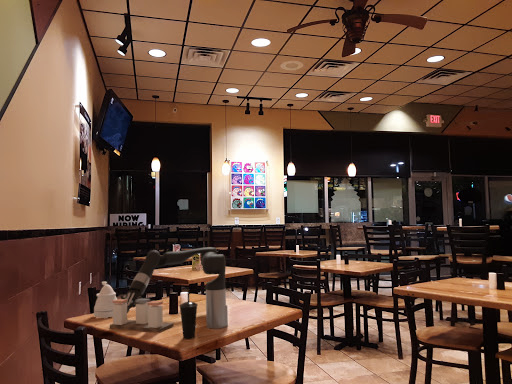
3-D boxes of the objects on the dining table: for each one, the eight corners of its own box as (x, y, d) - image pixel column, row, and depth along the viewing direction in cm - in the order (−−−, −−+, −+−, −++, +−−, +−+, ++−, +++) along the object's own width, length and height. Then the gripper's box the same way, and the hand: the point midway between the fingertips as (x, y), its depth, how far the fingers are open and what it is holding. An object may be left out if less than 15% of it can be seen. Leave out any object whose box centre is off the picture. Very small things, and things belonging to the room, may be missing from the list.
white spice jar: (127, 322, 196) (127, 299, 196) (121, 325, 192) (121, 301, 192) (118, 322, 197) (118, 298, 198) (112, 324, 194) (112, 300, 194)
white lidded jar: (150, 322, 196) (149, 298, 196) (144, 324, 192) (144, 300, 193) (141, 321, 198) (140, 298, 198) (135, 323, 194) (135, 299, 194)
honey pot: (88, 317, 218) (88, 283, 220) (107, 312, 230) (107, 279, 231) (105, 319, 212) (105, 284, 214) (124, 314, 224) (124, 280, 225)
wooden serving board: (173, 326, 194) (173, 323, 194) (159, 332, 183) (159, 329, 183) (125, 322, 204) (125, 319, 204) (109, 328, 194) (109, 324, 194)
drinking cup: (199, 334, 178) (198, 287, 179) (197, 339, 170) (196, 290, 172) (181, 335, 178) (180, 288, 179) (178, 340, 170) (178, 291, 171)
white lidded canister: (162, 325, 188) (162, 301, 189) (157, 327, 184) (157, 303, 185) (153, 324, 190) (153, 300, 191) (147, 327, 186) (147, 302, 187)
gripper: (153, 289, 210) (138, 319, 198) (132, 288, 215) (116, 317, 202) (147, 280, 205) (131, 310, 193) (125, 279, 210) (108, 308, 198)
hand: (123, 313), depth 198 cm, fingers closed
